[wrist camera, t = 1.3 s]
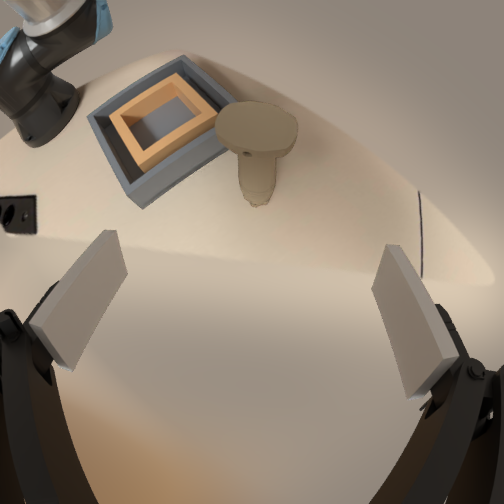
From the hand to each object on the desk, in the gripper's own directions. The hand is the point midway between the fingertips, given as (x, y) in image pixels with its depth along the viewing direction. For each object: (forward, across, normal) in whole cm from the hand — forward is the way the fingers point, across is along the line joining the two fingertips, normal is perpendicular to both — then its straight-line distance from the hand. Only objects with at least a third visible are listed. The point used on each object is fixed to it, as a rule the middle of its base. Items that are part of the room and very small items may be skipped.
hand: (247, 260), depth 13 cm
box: (+29, -14, +2) cm, 33 cm away
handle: (+22, 0, -6) cm, 23 cm away
